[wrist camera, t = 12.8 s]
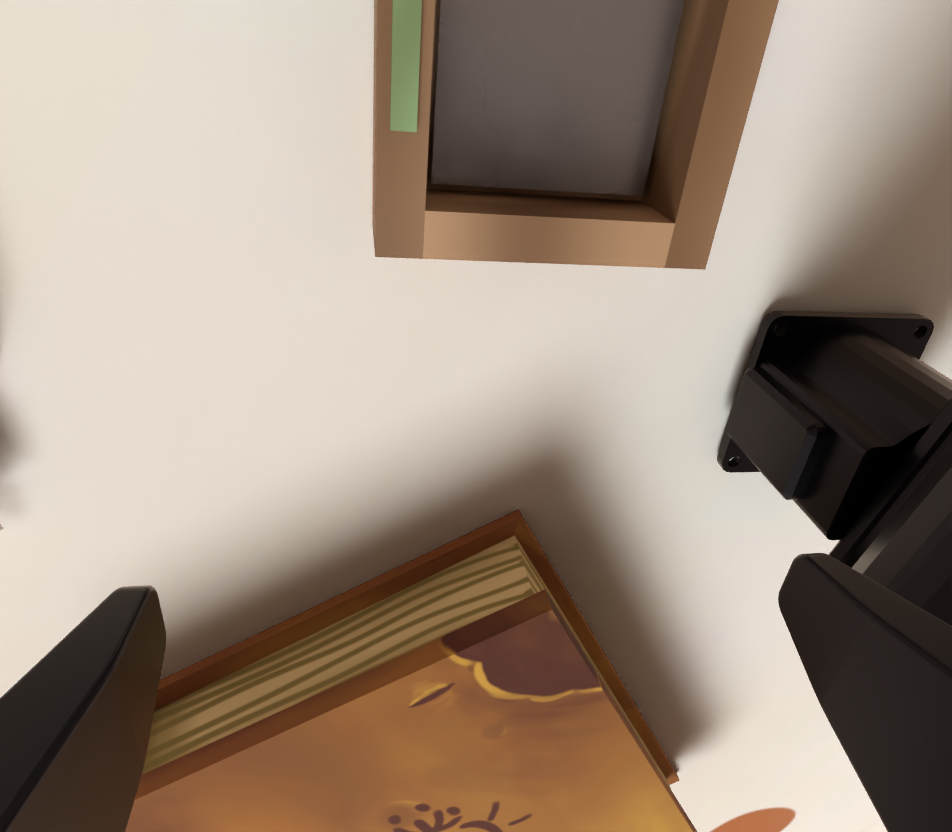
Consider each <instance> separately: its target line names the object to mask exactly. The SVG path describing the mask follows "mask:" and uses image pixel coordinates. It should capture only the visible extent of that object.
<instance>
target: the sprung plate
mask: <svg viewBox="0 0 952 832" xmlns="http://www.w3.org/2000/svg"><path fill="white" fill-rule="evenodd" d="M684 1H685V0H437V13H436V33H435V54H434V74H433V94H432V114H431V135H430V155H429V175H428V178H429V180H430V182H431V184H446V185H463V186H480V187H497V188H514V189H532V190H549V191H566V192H583V193H600V194H617V195H635V196H643V194H644V190H645V185H646V180H647V176H648V171H649V166H650V161H651V157H652V152H653V147H654V142H655V138H656V133H657V128H658V124H659V119H660V114H661V109H662V105H663V100H664V95H665V90H666V86H667V81H668V76H669V72H670V67H671V62H672V57H673V53H674V48H675V43H676V38H677V34H678V29H679V24H680V20H681V15H682V10H683V5H684Z"/></svg>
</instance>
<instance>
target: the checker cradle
mask: <svg viewBox="0 0 952 832" xmlns="http://www.w3.org/2000/svg"><path fill="white" fill-rule="evenodd" d="M778 1H779V0H685V1H684V5H683V10H682V15H681V20H680V24H679V29H678V34H677V38H676V43H675V48H674V53H673V57H672V62H671V67H670V72H669V76H668V81H667V86H666V90H665V95H664V100H663V105H662V109H661V114H660V119H659V124H658V128H657V133H656V138H655V142H654V147H653V152H652V157H651V161H650V166H649V171H648V176H647V180H646V185H645V190H644V194H643V196H635V195H617V194H600V193H583V192H566V191H549V190H532V189H514V188H497V187H480V186H463V185H446V184H431V182H430V180H429V178H428V175H429V155H430V135H431V114H432V94H433V74H434V54H435V33H436V13H437V0H374V107H373V236H374V248H375V257H394V258H420V259H447V260H473V261H499V262H526V263H552V264H579V265H605V266H632V267H658V268H684V269H705V268H706V264H707V261H708V257H709V253H710V250H711V246H712V242H713V239H714V235H715V231H716V228H717V224H718V220H719V217H720V213H721V209H722V206H723V202H724V198H725V195H726V191H727V187H728V184H729V180H730V176H731V173H732V169H733V165H734V162H735V158H736V154H737V151H738V147H739V143H740V140H741V136H742V132H743V129H744V125H745V121H746V118H747V114H748V111H749V107H750V103H751V100H752V96H753V92H754V89H755V85H756V81H757V78H758V74H759V70H760V67H761V63H762V59H763V56H764V52H765V48H766V45H767V41H768V37H769V34H770V30H771V26H772V23H773V19H774V15H775V12H776V8H777V4H778Z"/></svg>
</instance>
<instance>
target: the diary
mask: <svg viewBox="0 0 952 832" xmlns="http://www.w3.org/2000/svg"><path fill="white" fill-rule="evenodd" d="M677 781H679V778H678V776H677V774H676V772H675V770H674V768H673V767H672V765H671V763H670V762H669V760H668V758H667V757H666V755H665V753H664V752H663V750H662V748H661V747H660V745H659V743H658V742H657V740H656V738H655V737H654V735H653V733H652V732H651V730H650V728H649V727H648V725H647V723H646V722H645V720H644V718H643V717H642V715H641V713H640V712H639V710H638V708H637V707H636V705H635V703H634V702H633V700H632V698H631V697H630V695H629V693H628V692H627V690H626V688H625V687H624V685H623V683H622V682H621V680H620V678H619V677H618V675H617V673H616V672H615V670H614V668H613V667H612V665H611V663H610V662H609V660H608V658H607V657H606V655H605V653H604V652H603V650H602V648H601V647H600V645H599V643H598V641H597V640H596V638H595V636H594V635H593V633H592V631H591V630H590V628H589V626H588V625H587V623H586V621H585V620H584V618H583V616H582V615H581V613H580V611H579V610H578V608H577V606H576V605H575V603H574V601H573V600H572V598H571V596H570V595H569V593H568V591H567V590H566V588H565V586H564V585H563V583H562V581H561V580H560V578H559V576H558V575H557V573H556V571H555V570H554V568H553V566H552V565H551V563H550V561H549V560H548V558H547V556H546V555H545V553H544V551H543V550H542V548H541V546H540V545H539V543H538V541H537V540H536V538H535V536H534V535H533V533H532V531H531V530H530V528H529V526H528V525H527V523H526V521H525V520H524V518H523V516H522V515H521V513H520V511H519V510H517V511H514V512H512V513H510V514H508V515H506V516H504V517H502V518H500V519H498V520H496V521H493V522H491V523H489V524H487V525H485V526H483V527H481V528H479V529H477V530H475V531H472V532H470V533H468V534H466V535H464V536H462V537H460V538H458V539H456V540H454V541H451V542H449V543H447V544H445V545H443V546H441V547H439V548H437V549H435V550H433V551H430V552H428V553H426V554H424V555H422V556H420V557H418V558H416V559H414V560H412V561H409V562H407V563H405V564H403V565H401V566H399V567H397V568H395V569H393V570H391V571H388V572H386V573H384V574H382V575H380V576H378V577H376V578H374V579H372V580H370V581H367V582H365V583H363V584H361V585H359V586H357V587H355V588H353V589H351V590H349V591H346V592H344V593H342V594H340V595H338V596H336V597H334V598H332V599H330V600H328V601H325V602H323V603H321V604H319V605H317V606H315V607H313V608H311V609H309V610H307V611H304V612H302V613H300V614H298V615H296V616H294V617H292V618H290V619H288V620H286V621H283V622H281V623H279V624H277V625H275V626H273V627H271V628H269V629H267V630H265V631H262V632H260V633H258V634H256V635H254V636H252V637H250V638H248V639H246V640H244V641H241V642H239V643H237V644H235V645H233V646H231V647H229V648H227V649H225V650H223V651H220V652H218V653H216V654H214V655H212V656H210V657H208V658H206V659H204V660H202V661H199V662H197V663H195V664H193V665H191V666H189V667H187V668H185V669H183V670H181V671H178V672H176V673H174V674H172V675H170V676H168V677H166V678H164V679H162V680H160V681H159V686H158V692H157V698H156V703H155V709H154V714H153V720H152V726H151V731H150V737H149V743H148V748H147V753H146V758H145V763H144V768H143V772H142V776H141V780H140V783H139V787H138V791H137V794H136V797H135V801H134V804H133V807H132V811H131V814H130V817H129V821H128V824H127V828H126V831H125V832H697V831H696V829H695V827H694V826H693V824H692V823H691V821H690V820H689V818H688V816H687V815H686V813H685V812H684V810H683V808H682V807H681V805H680V804H679V802H678V800H677V799H676V797H675V796H674V794H673V792H672V791H671V788H670V786H669V785H670V784H672V783H675V782H677Z"/></svg>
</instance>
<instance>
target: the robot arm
mask: <svg viewBox="0 0 952 832" xmlns="http://www.w3.org/2000/svg"><path fill="white" fill-rule="evenodd" d="M779 323H781V326H780V327H779V329H777V330H776V331H774V328H775V326H776V325H777V324H779ZM918 327H919V328H918ZM916 328H918V329H917V330H916ZM933 328H934V325H933V322H932V321H931V320H929V319H928V318H926V317H924V316H922V315H915V314H876V313H838V312H800V311H776V312H773V313H771V314H769V315H768V316H767V317H766V318H765V319H764V320H763V322H762V324H761V327H760V330H759V333H758V336H757V339H756V342H755V345H754V348H753V351H752V354H751V357H750V360H749V363H748V366H747V369H746V372H745V373H744V375H743V377H742V380H741V384H740V387H739V390H738V393H737V396H736V399H735V402H734V405H733V408H732V411H731V414H730V417H729V420H728V423H727V426H726V429H725V430H726V432H725V435H724V438H723V441H722V444H721V447H720V450H719V453H718V456H717V461H718V463H719V465H720V466H721V467H722V468H723V470H725V471H726V472H761V473H762V474H763V475H764V476H765V477H766V478H767V480H768V481H769V482H770V483H771V484H772V485H773V486H774V487H775V489H776V490H777V491H778V492H779V493H780V494H781V495H782V497H783V498H785V499H786V500H793V501H794V502H795V503H796V504H797V505H798V506H799V507H800V508H801V509H802V511H803V512H804V513H805V514H806V515H807V516H808V517H809V518H810V520H811V521H812V522H813V523H814V524H815V525H816V526H817V527H818V528H819V530H820V531H821V532H822V533H823V534H824V535H825V536H826V537H827V538H828V539H829V540H840V541H839V542H838V543H837V545H836V546H835V547H834V548H833V550H832V551H831V552H830V553H829V555H827V554H824V553H812V554H801V555H798V556H797V557H796V558H795V559H794V560H793V562H792V564H791V567H790V569H789V571H788V573H787V576H786V578H785V580H784V582H783V585H782V587H781V589H780V592H779V597H778V600H779V607H780V610H781V613H782V615H783V618H784V620H785V622H786V625H787V627H788V630H789V632H790V634H791V637H792V639H793V641H794V644H795V646H796V649H797V651H798V653H799V656H800V658H801V661H802V663H803V665H804V668H805V670H806V673H807V675H808V677H809V680H810V682H811V684H812V687H813V689H814V691H815V694H816V696H817V698H818V700H819V703H820V705H821V707H822V709H823V711H824V713H825V715H826V717H827V719H828V720H829V722H830V724H831V726H832V728H833V730H834V732H835V734H836V735H837V737H838V739H839V741H840V743H841V745H842V747H843V749H844V750H845V752H846V754H847V756H848V758H849V760H850V762H851V764H852V765H853V767H854V769H855V771H856V773H857V775H858V777H859V779H860V780H861V782H862V784H863V786H864V788H865V790H866V792H867V794H868V795H869V797H870V799H871V801H872V803H873V805H874V807H875V809H876V810H877V812H878V814H879V816H880V818H881V820H882V822H883V824H884V825H885V827H886V829H887V831H888V832H952V380H951V379H949V378H948V377H946V376H944V375H943V374H941V373H940V372H938V371H936V370H935V369H933V368H932V367H930V366H928V365H927V364H925V363H923V362H922V361H920V360H919V359H920V357H921V355H922V353H923V351H924V349H925V347H926V345H927V342H928V340H929V338H930V336H931V334H932V332H933ZM915 330H916V331H915ZM914 331H915V332H914ZM732 457H734V459H732V460H731V461H729V460H730V459H731V458H732ZM165 645H166V631H165V625H164V621H163V616H162V612H161V607H160V603H159V598H158V594H157V591H156V590H155V588H154V587H152V586H129V587H121V588H119V589H117V590H115V591H114V592H113V593H112V594H111V595H109V596H108V597H107V598H106V599H105V600H104V601H103V602H102V603H101V604H100V605H99V606H98V607H97V608H96V609H95V610H94V611H92V612H91V613H90V614H89V615H88V616H87V617H86V618H85V619H84V620H83V621H82V622H81V623H80V624H79V625H78V626H76V627H75V628H74V629H73V630H72V631H71V632H70V633H69V634H68V635H67V636H66V637H65V638H64V639H63V640H62V641H61V642H59V643H58V644H57V645H56V646H55V647H54V648H53V649H52V650H51V651H50V652H49V653H48V654H47V655H46V656H45V657H44V658H42V659H41V660H40V661H39V662H38V663H37V664H36V665H35V666H34V667H33V668H32V669H31V670H30V671H29V672H28V673H27V674H25V675H24V676H23V677H22V678H21V679H20V680H19V681H18V682H17V683H16V684H15V685H14V686H13V687H12V688H11V689H9V690H8V691H7V692H6V693H5V694H4V695H3V696H2V697H1V698H0V832H125V831H126V828H127V824H128V821H129V817H130V814H131V811H132V807H133V804H134V801H135V797H136V794H137V791H138V787H139V783H140V780H141V776H142V772H143V768H144V763H145V758H146V753H147V748H148V743H149V737H150V731H151V726H152V720H153V714H154V709H155V703H156V698H157V692H158V686H159V681H160V675H161V669H162V664H163V658H164V652H165Z"/></svg>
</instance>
